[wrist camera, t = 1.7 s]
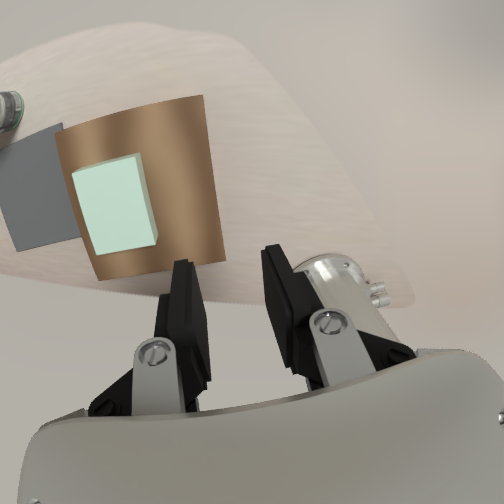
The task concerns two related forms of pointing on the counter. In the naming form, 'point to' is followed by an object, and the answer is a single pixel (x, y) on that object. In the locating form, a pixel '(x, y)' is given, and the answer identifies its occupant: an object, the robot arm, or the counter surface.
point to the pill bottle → (10, 110)
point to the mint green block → (116, 204)
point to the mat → (35, 192)
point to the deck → (153, 182)
